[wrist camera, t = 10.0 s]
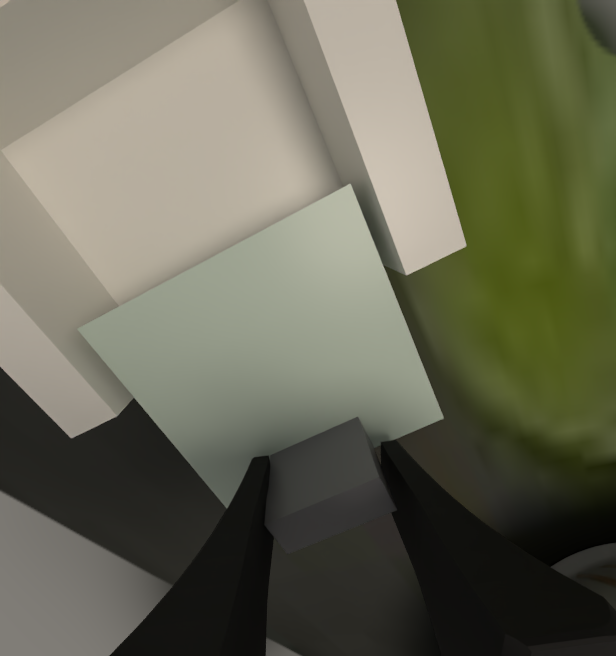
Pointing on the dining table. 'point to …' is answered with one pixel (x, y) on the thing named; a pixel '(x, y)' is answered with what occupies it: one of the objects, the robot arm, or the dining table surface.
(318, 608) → the dining table surface
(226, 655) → the robot arm
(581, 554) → the decorative bowl
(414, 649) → the dining table surface
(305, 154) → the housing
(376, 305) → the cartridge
